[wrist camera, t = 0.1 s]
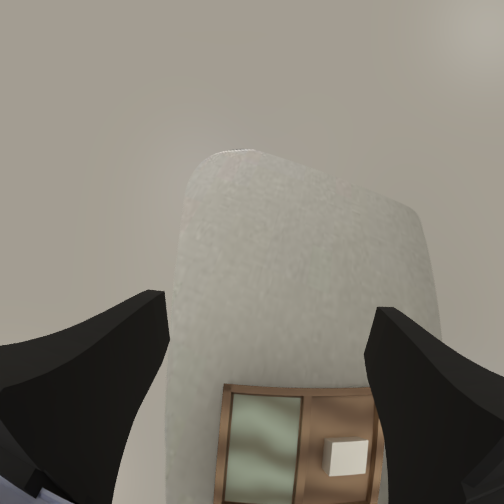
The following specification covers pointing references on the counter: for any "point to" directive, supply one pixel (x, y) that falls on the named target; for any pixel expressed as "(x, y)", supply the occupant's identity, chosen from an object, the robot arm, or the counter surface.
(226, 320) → the counter surface
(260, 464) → the sorting tray
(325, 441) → the stone block
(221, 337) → the counter surface
